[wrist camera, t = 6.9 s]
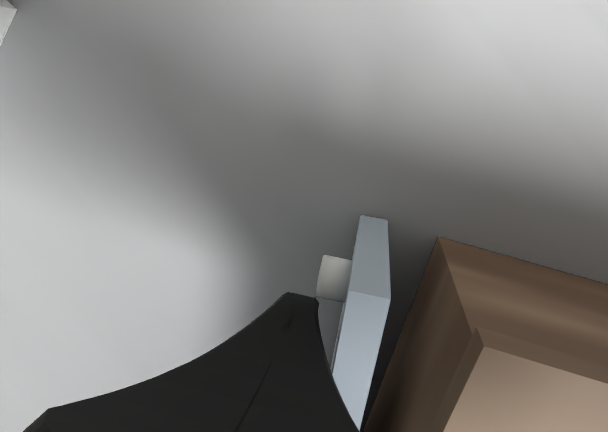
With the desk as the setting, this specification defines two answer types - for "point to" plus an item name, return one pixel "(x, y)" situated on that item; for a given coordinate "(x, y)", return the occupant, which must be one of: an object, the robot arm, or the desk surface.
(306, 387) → the robot arm
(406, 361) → the cabinet
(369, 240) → the door
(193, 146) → the desk surface
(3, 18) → the bracket
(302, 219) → the desk surface
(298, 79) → the desk surface
